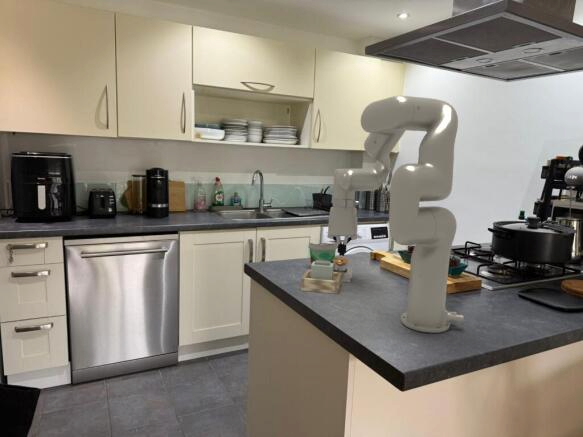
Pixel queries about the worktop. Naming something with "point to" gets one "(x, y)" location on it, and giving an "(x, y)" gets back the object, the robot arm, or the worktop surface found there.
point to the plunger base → (346, 275)
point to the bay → (321, 283)
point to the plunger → (340, 264)
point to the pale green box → (322, 270)
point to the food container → (322, 251)
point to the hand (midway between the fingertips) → (341, 254)
